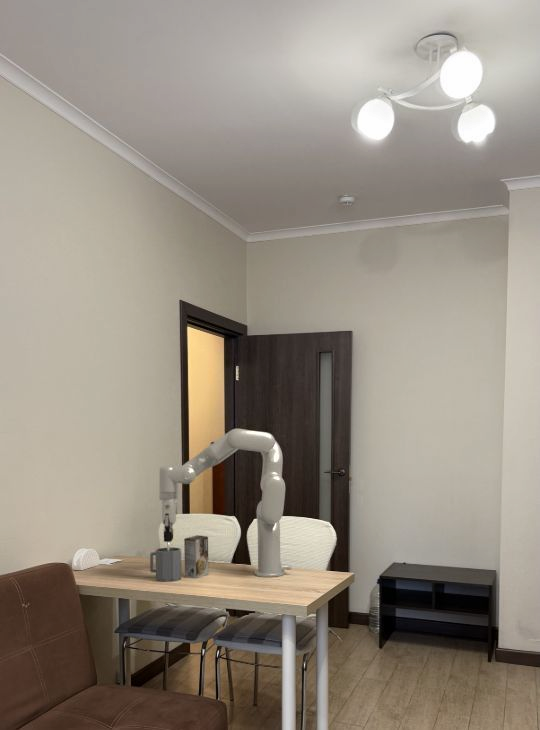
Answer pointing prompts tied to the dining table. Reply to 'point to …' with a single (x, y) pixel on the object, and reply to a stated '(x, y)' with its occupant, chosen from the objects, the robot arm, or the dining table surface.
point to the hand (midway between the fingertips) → (168, 540)
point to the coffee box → (196, 556)
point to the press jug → (167, 564)
